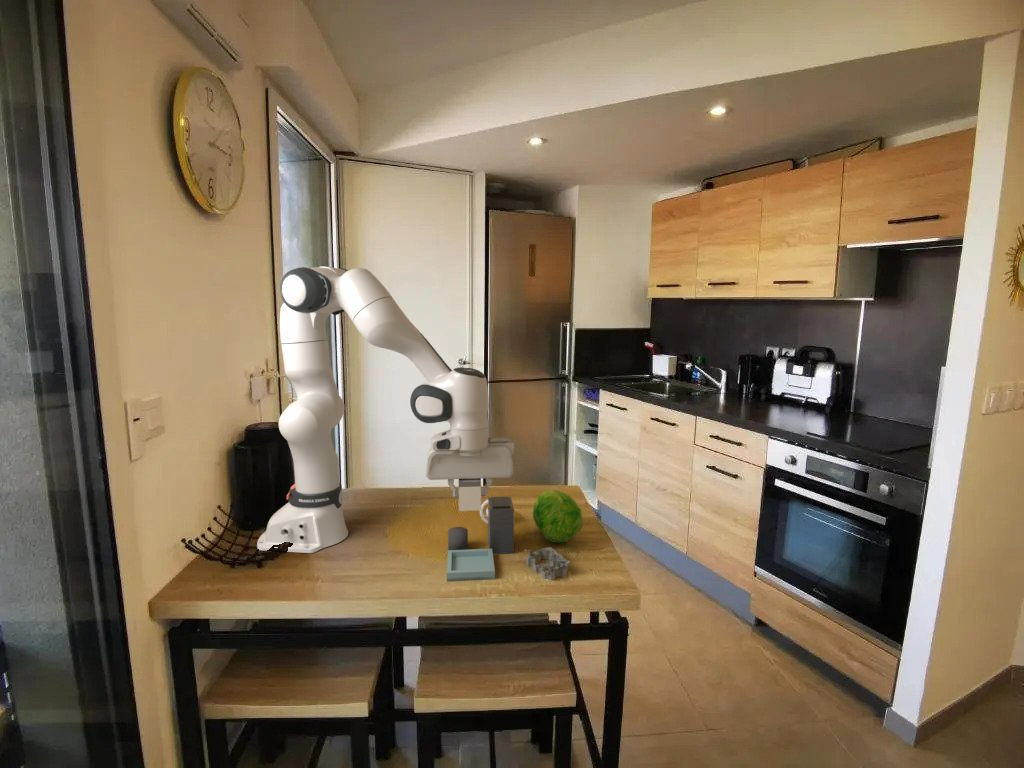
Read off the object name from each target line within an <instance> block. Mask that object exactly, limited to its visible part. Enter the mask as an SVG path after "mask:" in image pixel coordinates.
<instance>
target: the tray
mask: <svg viewBox="0 0 1024 768" xmlns="http://www.w3.org/2000/svg"><path fill="white" fill-rule="evenodd" d="M481 580H496V569H495V562H494V554H493V552H492V549H489V548H475V549H473V548H472V549H468V550H447V563H446V582H458V581H459V582H460V581H461V582H462V581H481Z"/></svg>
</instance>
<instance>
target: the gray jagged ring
mask: <svg viewBox="0 0 1024 768" xmlns="http://www.w3.org/2000/svg"><path fill="white" fill-rule="evenodd" d="M524 552H526V553H527V557H526V558H525V559H526V560H525V564H526V567H528V568H533V573H535V574H540V575H541V579H542V578H543V579H548V580H547V581H550V580H551V582H553V581H555V577H562V578H563V577H564V578H565V577H567V573H568V567H569V564H570V562H571V560H567V559H566V558H565V557H563V555H562V554H560V553H559V552H557V551H556V550H555V549H554V548H553V547H552V546H550V547H544V548H543V547H542V548H541V549H536V550H535V552H532V550H531V549H526V548H524ZM540 559H544V560H545V561H544V562H545V563H539V562H540ZM537 563H538V564H537ZM544 570H545V571H544ZM543 579H542V580H543Z"/></svg>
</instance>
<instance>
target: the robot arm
mask: <svg viewBox="0 0 1024 768" xmlns="http://www.w3.org/2000/svg"><path fill="white" fill-rule="evenodd" d="M279 290H280V295H281V296H280V297H281V299H282V301H283V303H282V305H281V306H280V310H279V311H280V313H279V338H280V346H281V353H282V360H283V367H284V372H285V375H286V377H287V378H288V379H289V380H290V383H291V384H292V386H293V389H294V392H295V395H296V400H295V401H292V402H291V403H290V404H289V405H288V406H287V407H286V408H285V409H284V411H282V413H281V415H280V416H279V419H278V429H279V432H280V434H281V436H282V437H283V438H284V439H285V440H286V441H287V444H288V447H289V449H290V453H291V457H292V461H293V462H292V463H293V471H294V484H293V485H292V486H290V489H289V491H288V493H287V494H286V501H288V502H287V503H285V505H283V506H282V507H280V508H279V509H278V510H277V511H275V513H273V515H272V516H271V517H270V519H269V521H268V522H267V525H266V530H265V531H264V532H263V533H262V534H261V535H260V536H259V537H258V539H257V542H256V543H257V544H256V548H257V550H258V549H259V551H265V552H267V550H269V549H270V548H271V547H272V546H273V545H279V544H282V543H284V542H290V543H293V545H292V546H291V547H288V551H287V552H286V553H300V554H301V553H303V554H312V553H316V552H319V551H321V550H322V549H324V548H327V547H330V546H331V547H332V546H334V545H336V544H338V543H340V542H342V541H343V540H345V539H346V538H347V537H348V535H349V530H348V528H347V525H346V522H345V521H346V520H345V517H344V513H343V507H342V505H343V501H344V499H343V489H342V483H341V482H340V464H339V463H340V461H339V460H340V459H339V455H338V453H336V451H335V448H334V447H335V446H334V444H333V441H332V436H331V434H332V433H331V432H332V429H334V428H335V427H337V426H338V425H339V423H340V422H341V420H342V418H343V416H344V413H345V409H346V408H345V407H346V406H345V403H344V400H343V398H342V396H340V393H339V389H338V387H337V384H336V381H335V378H334V375H333V370H332V366H331V359H330V350H329V342H328V335H327V329H326V323H327V319H328V317H329V315H334V316H338V315H339V314H342V313H344V312H345V313H346V315H348V317H349V319H350V321H351V322H352V324H353V325H354V326H355V329H356V330H357V331H358V332H359V334H360V335H361V336H362V337H363V338H364V339H365V340H366V341H367V342H368V343H369V344H371V345H372V346H374V347H377V348H381V349H385V350H389V351H393V352H396V353H399V354H400V355H402V356H404V357H406V358H407V359H408V360H410V361H411V362H412V363H413V364H414V366H415V367H416V368H417V369H418V370H419V372H420V373H421V374H422V376H423V377H424V378H425V379H426V381H427V382H423V383H422V384H419V385H418V386H416V387H415V388H414V389H413V391H412V392H411V394H410V400H409V402H410V405H409V406H410V409H411V411H412V414H413V415H414V416H415V418H416V419H417V420H418V421H420V422H422V423H424V424H436V423H444V422H447V423H449V429H448V430H445V431H442V432H438V433H436V434H435V433H434V435H433V436H432V437H431V439H430V448H429V451H428V454H427V457H426V465H425V476H426V478H427V479H428V480H429V481H434V480H435V481H437V480H439V481H440V480H442V481H443V480H447V485H448V486H449V488H450V489H451V491H452V498H459V487H456V486H455V484H454V483H455V480H459V479H479V478H481V479H485V484H484V486H481V497H488V490H489V489H490V487H491V486H492V483H493V479H504V478H505V479H506V478H507V479H509V478H511V477H512V476H513V475H514V462H513V455H514V454H515V443H514V442H513V440H511V439H509V438H508V437H501V438H499V437H490V436H489V435H490V431H489V430H490V428H489V425H490V424H489V421H488V412H489V407H490V406H489V403H490V402H489V387H488V382H487V378H486V375H485V374H484V373H483V372H482V371H480V370H478V369H475V368H471V367H463V366H462V367H461V366H460V367H456V368H453V369H452V368H451V367H450V366H449V365H448V364H447V363H446V361H445V360H444V359H443V357H441V356H440V355H441V354H439V353H438V352H437V350H436V349H435V348H434V347H433V345H432V344H431V343H430V342H429V341H428V339H427V338H426V337H425V335H424V334H422V332H420V330H419V329H418V328H417V327H416V326H415V325H414V324H413V322H411V320H410V319H409V318H408V317H407V315H406V314H405V313H404V311H403V310H402V309H401V307H400V306H399V305H398V303H397V302H396V300H395V299H394V297H392V295H391V293H390V292H389V291H388V290H387V288H386V287H385V286H384V284H382V282H381V281H380V280H379V279H378V278H377V277H376V276H375V275H374V274H373V273H372V272H371V271H369V270H368V269H367V268H363V267H355V268H351V269H347V268H343V267H342V268H341V267H340V268H337V267H332V266H317V267H316V266H313V267H306V266H305V267H304V266H302V267H297V268H293V269H291V270H289V271H287V272H286V273H285V274H284V275H283V276H282V279H281V281H280V289H279ZM274 548H278V547H274Z"/></svg>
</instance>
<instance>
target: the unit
mask: <svg viewBox="0 0 1024 768" xmlns="http://www.w3.org/2000/svg"><path fill="white" fill-rule="evenodd" d="M487 500H488V504H487V507H488V516H487V520H488V524H487V526H488V527H487V537H488V538H487V541H488V542H487V543H488V549H492V552H493V555H504V554H507V555H509V554H510V555H511V554H514V543H515V541H514V534H515V533H514V532H515V531H514V528H515V509H514V508H515V507H514V504H513V500H512V496H490V497H488V496H487Z"/></svg>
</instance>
